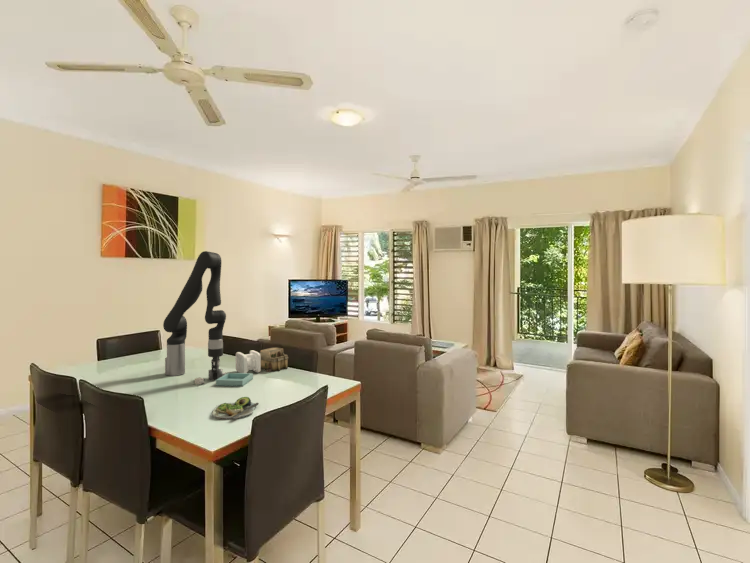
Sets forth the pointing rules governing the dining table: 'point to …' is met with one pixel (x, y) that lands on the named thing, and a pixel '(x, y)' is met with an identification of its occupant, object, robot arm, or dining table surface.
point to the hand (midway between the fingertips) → (215, 377)
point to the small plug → (199, 380)
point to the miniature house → (273, 359)
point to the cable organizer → (248, 362)
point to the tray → (234, 379)
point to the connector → (219, 374)
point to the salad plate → (235, 409)
